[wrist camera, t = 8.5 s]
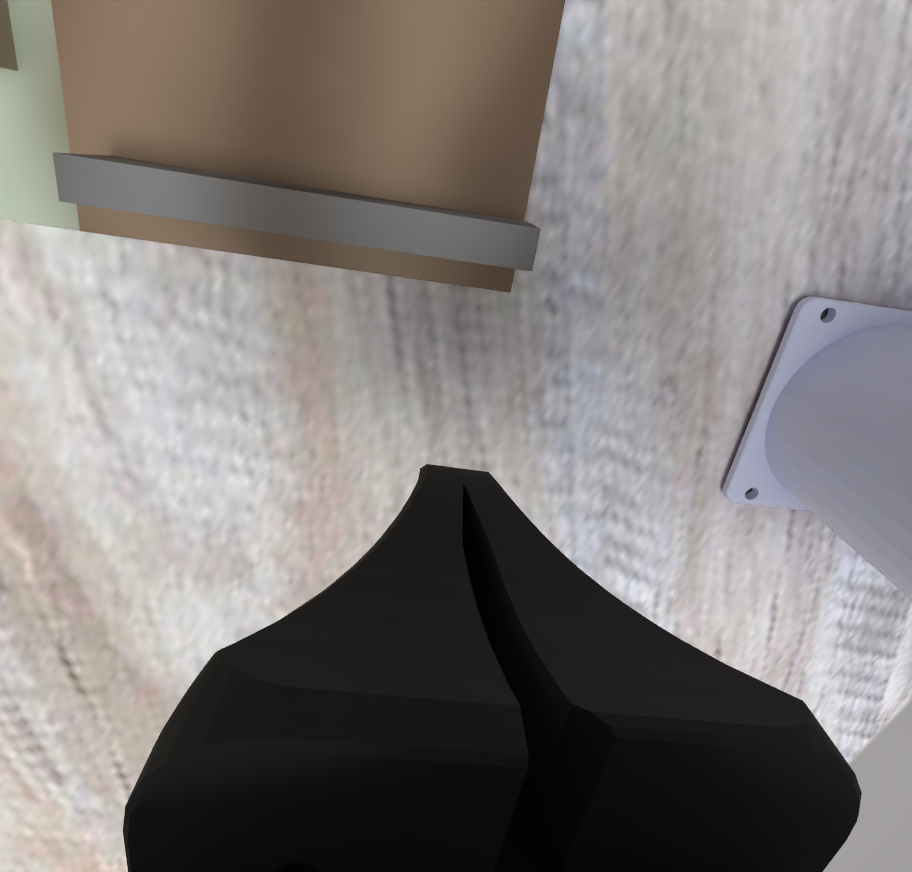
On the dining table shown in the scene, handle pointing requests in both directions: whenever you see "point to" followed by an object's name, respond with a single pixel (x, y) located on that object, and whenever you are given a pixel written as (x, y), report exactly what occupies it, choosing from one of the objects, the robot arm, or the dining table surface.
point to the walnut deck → (285, 128)
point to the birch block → (6, 39)
